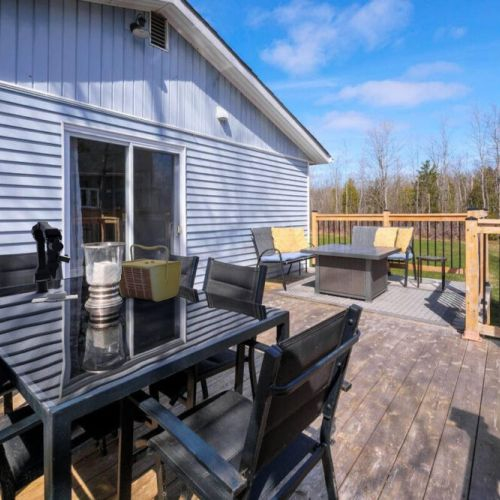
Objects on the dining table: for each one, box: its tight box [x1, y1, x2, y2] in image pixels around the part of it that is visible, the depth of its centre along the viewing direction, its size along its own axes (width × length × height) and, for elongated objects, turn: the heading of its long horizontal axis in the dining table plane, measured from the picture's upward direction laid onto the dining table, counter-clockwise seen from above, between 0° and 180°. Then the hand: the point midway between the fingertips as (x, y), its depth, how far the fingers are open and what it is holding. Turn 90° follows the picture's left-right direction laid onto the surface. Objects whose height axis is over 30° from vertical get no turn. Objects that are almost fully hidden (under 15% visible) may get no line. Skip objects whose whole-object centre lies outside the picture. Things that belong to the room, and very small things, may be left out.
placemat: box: [31, 294, 79, 304], centre depth 189 cm, size 8×22×1 cm, turn 118°
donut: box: [46, 290, 68, 299], centre depth 190 cm, size 10×4×10 cm
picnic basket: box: [118, 243, 183, 303], centre depth 193 cm, size 29×26×30 cm
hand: (54, 278), depth 187 cm, fingers closed
